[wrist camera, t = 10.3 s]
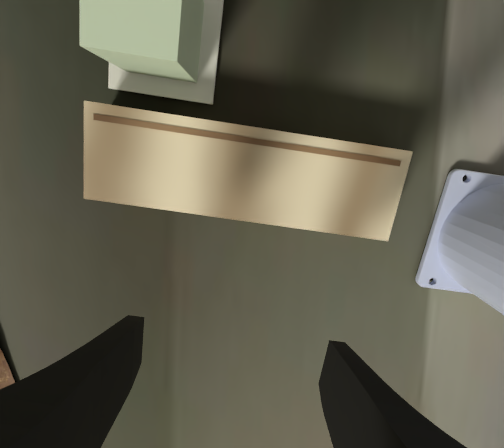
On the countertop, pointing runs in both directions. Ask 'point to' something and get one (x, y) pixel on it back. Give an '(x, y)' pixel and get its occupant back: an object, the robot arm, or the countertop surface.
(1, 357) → the wooden fragment
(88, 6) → the block
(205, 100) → the grey pad
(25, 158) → the countertop surface
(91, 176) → the ash board
